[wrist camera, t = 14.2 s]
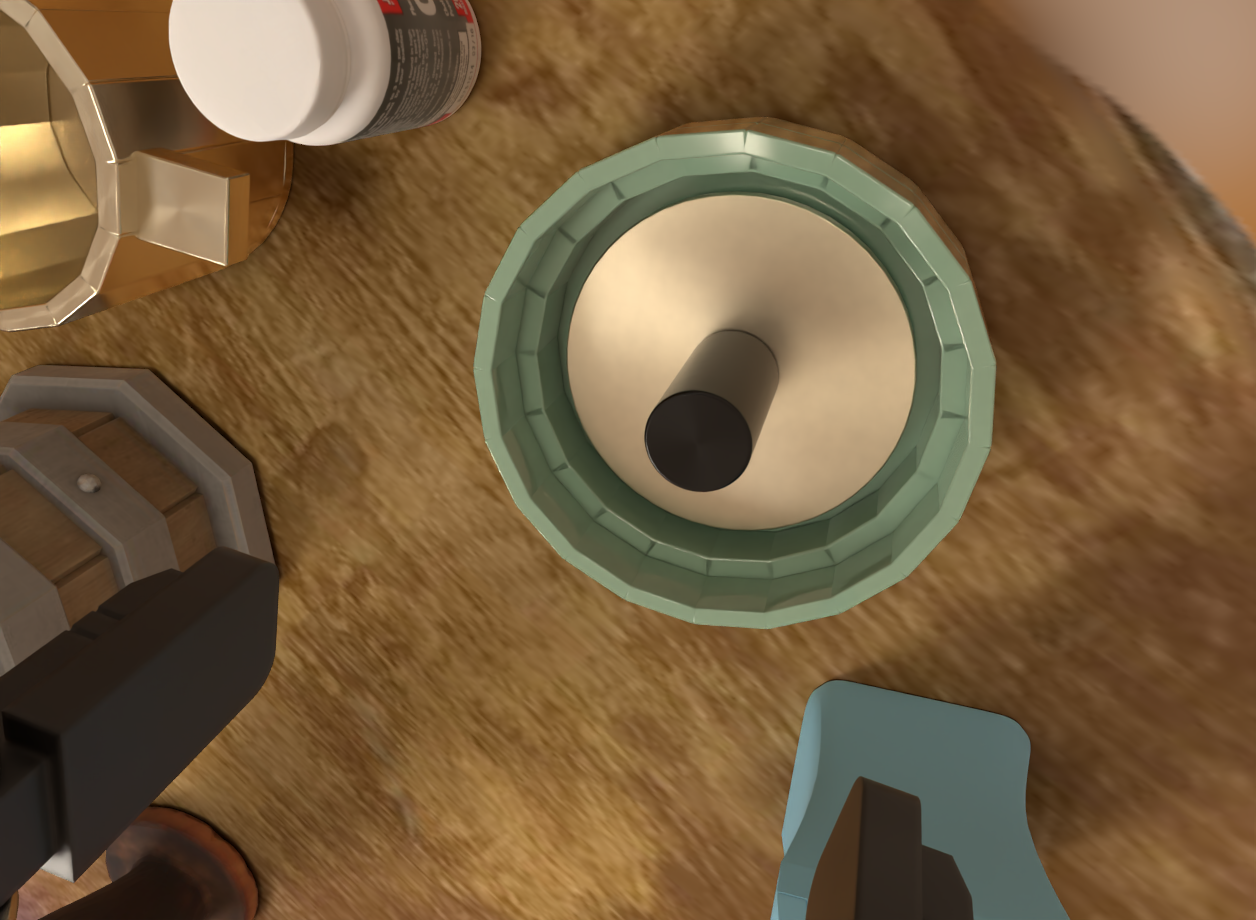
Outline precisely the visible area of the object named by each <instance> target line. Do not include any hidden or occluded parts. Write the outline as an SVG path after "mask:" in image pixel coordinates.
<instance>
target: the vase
mask: <svg viewBox="0 0 1256 920" xmlns="http://www.w3.org/2000/svg"><path fill="white" fill-rule="evenodd" d="M106 865H107V869H108V873H109V877H110V879H111V881H112V883H111V884H109V885H107V886H105V887H103V888H101V889H99V890H97V891H95V892H93V893H91V894H89V895H87V896H85V897H83V898H81V899H79V900H77V901H75V902H73V903H71V904H68V905H66V906H64V907H62V908H60V909H58V910H56V911H54V912H52V913H50V914H48V915H46V916H44V917H42V918H40V919H38V920H252V919H253V918H254V916H255V913H256V910H257V906H258V889H257V886H256V883H255V880H254V878H253V875H252V873H251V871H250V870H249V869H248V868H247V865H246V863H245V861H244V859H243V858H242V856H241V855H240V854H239V853H238V851H237V850H236V849H235V848H234V847H233V846H232V845H231V844H229V843H228V842H226V841H225V840H224V839H222V838H221V837H220V836H219V835H218V834H217V833H216V832H215V831H214V830H213V829H212V828H211V827H210V826H209V825H208V824H206V823H205V822H202V821H200V820H199V819H197V818H195V817H193V816H191V815H189V814H186V813H184V812H181V811H177V810H175V809H171V808H161V807H147V808H146V809H145V810H144V811H143V812H142V813H141V814H140V815H139V816H138V817H137V818H136V819H135V820H134V821H133V822H132V823H131V824H130V825H129V827H128V828H127V829H126V830H125V831H124V832H123V833H122V834H121V835H120V836H119V837H118V838H117V839H116V840H115V841H114V842H113V843H112V844H111V845H110V846H109V847H108V848H107V849H106Z"/></svg>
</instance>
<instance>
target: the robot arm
mask: <svg viewBox="0 0 1256 920" xmlns="http://www.w3.org/2000/svg"><path fill="white" fill-rule="evenodd" d="M278 595H279V571H278V568H277V566H276V565H275V564H273V563H271V562H268V561H265V560H262V559H259V558H257V557H254V556H251V555H248V554H245V553H243V552H240V551H237V550H234V549H232V548H229V547H225V546H221V547H217V548H215V549H214V550H212V551H210V552H209V553H208V554H207V555H205V556H204V557H203V558H201V559H200V560H199V561H197V562H196V563H195V564H193V565H192V566H191V567H189V568H188V569H187V570H185V571H184V572H181V571H178V570H175V569H172V568H170V569H168V570H165V571H162V572H160V573H157V574H154V575H151V576H149V577H146V578H143V579H140V580H138V581H135V582H132V583H130V584H128V585H127V586H126V587H124V588H123V589H122V590H120V591H119V592H117V593H116V594H115V595H113V596H112V597H110V598H109V599H108V600H106V601H105V602H104V603H102V604H101V605H99V607H98V610H97V611H96V612H95V611H91V612H90V613H88V614H87V615H85V616H84V617H83V618H81V619H80V620H79V621H77V622H76V623H74V624H73V625H72V628H71V630H70V631H68V630H65V631H63V632H62V633H61V634H59V635H58V636H56V637H55V638H54V639H52V640H51V641H49V642H48V643H47V644H45V645H44V646H43V647H41V648H40V649H38V650H37V651H36V652H34V653H33V654H31V655H30V656H29V657H27V658H26V659H25V660H23V661H22V662H20V663H19V664H18V665H16V666H15V667H13V668H12V669H11V670H9V671H8V672H7V673H5V674H4V675H2V676H1V677H0V920H16V918H17V911H18V904H19V894H18V889H20V888H21V887H22V886H23V885H24V884H25V883H26V882H27V881H28V880H29V879H30V878H31V877H32V876H33V875H34V874H35V873H36V872H37V871H38V870H39V869H42V870H44V871H47V872H49V873H51V874H54V875H56V876H58V877H61V878H63V879H65V880H68V881H70V882H73V883H74V882H75V881H76V880H77V879H78V878H79V877H80V876H81V875H82V874H83V873H84V872H85V871H86V870H87V869H88V868H89V867H90V866H91V865H92V864H93V863H94V862H95V861H96V860H97V858H98V857H99V856H100V855H101V854H102V853H103V852H104V851H105V850H106V849H107V848H108V847H109V846H110V845H111V844H112V843H113V842H114V841H115V840H116V839H117V838H118V837H119V836H120V835H121V834H122V833H123V832H124V831H125V830H126V829H127V828H128V827H129V825H130V824H131V823H132V822H133V821H134V820H135V819H136V818H137V817H138V816H139V815H140V814H141V813H142V812H143V811H144V810H145V809H146V808H147V807H148V806H149V805H150V804H151V803H152V802H153V801H154V800H155V799H156V798H157V797H158V796H159V795H160V794H161V792H162V791H163V790H164V789H165V788H166V787H167V786H168V785H169V784H170V783H171V782H172V781H173V780H174V779H175V778H176V777H177V776H178V775H179V774H180V773H181V772H182V771H183V770H184V769H185V768H186V767H187V766H188V765H189V764H190V763H191V762H192V761H193V759H194V758H195V757H196V756H197V755H198V754H199V753H200V752H201V751H202V750H203V749H204V748H205V747H206V746H207V745H208V744H209V743H210V742H211V741H212V740H213V739H214V738H215V737H216V736H217V735H218V734H219V733H220V732H221V731H222V730H223V729H224V728H225V727H226V725H227V724H228V723H229V722H230V721H231V720H232V719H233V718H234V717H235V716H236V715H237V714H238V713H239V712H240V711H241V710H242V709H243V708H244V707H245V706H246V705H247V704H248V703H249V702H250V701H251V700H252V699H253V698H254V696H255V695H256V694H257V693H258V692H259V690H260V689H261V687H262V686H263V684H264V682H265V681H266V679H267V677H268V675H269V672H270V670H271V667H272V665H273V661H274V657H275V651H276V633H277V614H278ZM805 920H974V918H973V904H972V896H971V894H970V892H969V890H968V888H967V886H966V884H965V881H964V879H963V877H962V875H961V873H960V871H959V869H958V867H957V865H956V862H955V860H954V858H953V856H952V855H949V854H947V853H944V852H941V851H938V850H936V849H933V848H930V847H927V846H925V845H922V825H921V802H920V799H919V797H918V796H915V795H912V794H909V793H907V792H904V791H901V790H898V789H896V788H893V787H890V786H887V785H884V784H882V783H879V782H876V781H873V780H870V779H868V778H865V777H862V776H859V777H858V778H857V779H856V781H855V782H854V784H853V786H852V788H851V791H850V793H849V795H848V797H847V799H846V802H845V804H844V806H843V808H842V811H841V813H840V815H839V817H838V819H837V822H836V824H835V826H834V828H833V830H832V833H831V835H830V837H829V839H828V842H827V844H826V846H825V848H824V850H823V853H822V855H821V857H820V860H819V862H818V865H817V868H816V871H815V874H814V878H813V881H812V885H811V889H810V894H809V898H808V904H807V911H806V919H805Z"/></svg>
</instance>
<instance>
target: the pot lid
mask: <svg viewBox="0 0 1256 920" xmlns="http://www.w3.org/2000/svg"><path fill="white" fill-rule="evenodd" d="M567 372H568V380H569V387H570V391H571V395H572V398H573V402H574V406H575V409H576V412H577V414H578V416H579V419H580V421H581V424H582V426H583V428H584V430H585V432H586V434H587V436H588V437H589V439H590V441H591V443H592V445H593V446H594V448H595V449H596V450H597V452H598V453H599V455H600V456H601V457H602V459H603V460H604V462H605V463H606V464H607V465H608V466H609V467H610V468H611V469H612V471H613V472H614V473H615V474H616V475H617V476H618V477H619V478H620V479H621V480H622V481H623V482H625V483H626V484H627V485H628V486H629V487H630V488H631V489H633V490H634V491H635V492H636V493H638V494H639V495H641V496H642V497H644V498H645V499H646V500H648V501H649V502H651V503H652V504H654V505H656V506H658V507H660V508H662V509H664V510H665V511H667V512H669V513H671V514H673V515H676V516H679V517H681V518H684V519H686V520H689V521H691V522H695V523H699V524H703V525H706V526H710V527H716V528H723V529H730V530H751V531H755V530H766V529H776V528H781V527H786V526H790V525H795V524H798V523H801V522H804V521H807V520H810V519H813V518H816V517H818V516H820V515H822V514H824V513H826V512H828V511H830V510H832V509H834V508H836V507H838V506H839V505H841V504H842V503H844V502H845V501H847V500H848V499H850V498H851V497H853V496H854V495H855V494H857V493H858V492H859V491H860V490H861V489H862V488H863V487H865V486H866V485H867V484H868V483H869V482H870V481H871V480H872V479H873V478H874V477H875V476H876V474H877V473H878V472H879V471H880V470H881V469H882V468H883V466H884V465H885V464H886V462H887V461H888V459H889V458H890V456H891V455H892V453H893V452H894V450H895V449H896V447H897V445H898V443H899V441H900V439H901V437H902V435H903V433H904V430H905V428H906V426H907V423H908V419H909V416H910V413H911V410H912V406H913V402H914V395H915V389H916V382H917V353H916V346H915V338H914V332H913V328H912V324H911V321H910V317H909V314H908V310H907V308H906V305H905V303H904V301H903V299H902V296H901V294H900V292H899V289H898V287H897V286H896V284H895V282H894V281H893V279H892V278H891V276H890V274H889V273H888V271H887V270H886V268H885V266H884V265H883V264H882V263H881V262H880V260H879V259H878V258H877V257H876V256H875V254H874V253H873V252H872V251H871V250H870V248H869V247H868V246H866V245H865V244H864V243H863V242H862V241H861V240H860V239H859V238H858V237H857V236H856V235H854V234H853V233H852V232H851V231H850V230H848V229H847V228H845V227H844V226H843V225H841V224H840V223H838V222H837V221H835V220H834V219H832V218H831V217H829V216H827V215H825V214H823V213H821V212H819V211H817V210H815V209H813V208H811V207H809V206H807V205H804V204H801V203H798V202H796V201H793V200H790V199H787V198H784V197H779V196H774V195H769V194H764V193H755V192H739V191H733V192H719V193H709V194H705V195H700V196H695V197H691V198H687V199H684V200H681V201H679V202H676V203H673V204H670V205H667V206H665V207H663V208H661V209H659V210H658V211H656V212H654V213H652V214H650V215H648V216H646V217H645V218H643V219H642V220H640V221H639V222H638V223H636V224H635V225H633V226H632V227H631V228H629V229H628V230H626V231H625V232H624V233H623V234H622V235H621V236H620V237H619V238H617V239H616V240H615V241H614V242H613V243H612V244H611V245H610V246H609V247H608V248H607V249H606V251H605V252H604V253H603V254H602V256H601V257H600V258H599V259H598V261H597V262H596V263H595V264H594V266H593V268H592V269H591V271H590V273H589V274H588V276H587V278H586V280H585V281H584V283H583V285H582V287H581V290H580V292H579V295H578V297H577V299H576V302H575V304H574V308H573V312H572V316H571V319H570V323H569V330H568V338H567Z"/></svg>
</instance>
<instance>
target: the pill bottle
mask: <svg viewBox="0 0 1256 920" xmlns="http://www.w3.org/2000/svg"><path fill="white" fill-rule="evenodd" d="M169 44H170V51H171V55H172V60H173V63H174V66H175V69H176V72H177V75H178V77H179V79H180V82H181V84H182V86H183V88H184V90H185V91H186V93H187V95H188V96H189V97H190V99H191V100H192V102H193V104H194V105H195V106H196V107H197V108H198V110H199V111H200V112H201V113H202V114H203V115H204V116H205V117H206V118H207V119H208V120H209V121H211V122H212V123H213V124H215V125H216V126H217V127H219V128H220V129H222V130H223V131H225V132H227V133H229V134H231V135H233V136H235V137H238V138H242V139H245V140H250V141H258V142H263V141H274V140H289V141H291V142H295V143H298V144H304V145H313V146H321V145H334V144H340V143H344V142H349V141H354V140H359V139H364V138H369V137H374V136H379V135H384V134H389V133H395V132H399V131H404V130H410V129H414V128H421V127H424V126H429V125H432V124H436V123H438V122H440V121H443V120H445V119H446V118H448V117H449V116H451V115H452V114H453V113H455V112H456V111H457V110H458V109H459V108H460V107H461V106H462V104H463V103H464V102H465V100H466V99H467V97H468V96H469V94H470V92H471V90H472V88H473V86H474V84H475V82H476V79H477V76H478V72H479V68H480V62H481V38H480V32H479V27H478V23H477V20H476V17H475V14H474V12H473V9H472V7H471V5H470V3H469V1H468V0H173V2H172V6H171V10H170V15H169Z"/></svg>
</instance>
